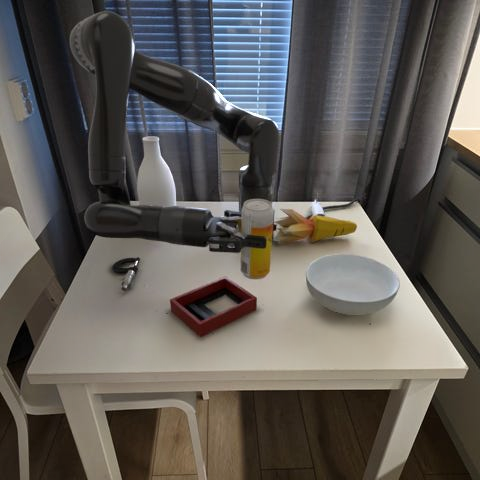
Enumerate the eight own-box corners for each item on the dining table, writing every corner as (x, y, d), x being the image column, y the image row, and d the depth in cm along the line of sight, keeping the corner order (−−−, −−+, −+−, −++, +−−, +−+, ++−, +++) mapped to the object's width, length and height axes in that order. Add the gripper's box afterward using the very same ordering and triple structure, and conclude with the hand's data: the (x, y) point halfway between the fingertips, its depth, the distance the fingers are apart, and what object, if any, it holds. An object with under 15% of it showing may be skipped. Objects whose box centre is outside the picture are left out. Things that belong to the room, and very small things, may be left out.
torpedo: (329, 232, 134) (332, 211, 130) (313, 231, 134) (316, 211, 130) (321, 207, 148) (323, 188, 144) (306, 207, 148) (308, 187, 144)
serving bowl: (409, 322, 99) (417, 297, 95) (318, 332, 96) (321, 306, 92) (372, 273, 115) (377, 249, 111) (293, 280, 112) (295, 256, 108)
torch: (350, 249, 133) (269, 246, 127) (345, 227, 136) (266, 223, 130) (363, 233, 125) (277, 229, 120) (357, 210, 129) (273, 205, 123)
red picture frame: (225, 288, 109) (225, 276, 107) (256, 310, 102) (257, 297, 100) (171, 312, 102) (169, 299, 99) (200, 337, 94) (199, 324, 92)
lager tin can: (275, 273, 93) (280, 204, 84) (256, 284, 89) (259, 214, 80) (253, 262, 96) (256, 195, 87) (234, 273, 93) (234, 204, 84)
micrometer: (116, 260, 120) (115, 252, 118) (143, 261, 120) (141, 253, 118) (99, 291, 108) (97, 283, 106) (129, 292, 108) (127, 284, 106)
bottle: (134, 226, 136) (120, 139, 121) (159, 214, 143) (150, 130, 128) (161, 236, 131) (151, 146, 116) (186, 222, 138) (179, 136, 123)
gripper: (173, 224, 82) (264, 233, 79) (194, 194, 93) (275, 201, 90) (176, 260, 86) (262, 270, 84) (196, 227, 97) (273, 235, 95)
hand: (268, 234), depth 87 cm, fingers closed on lager tin can, 6 cm apart
